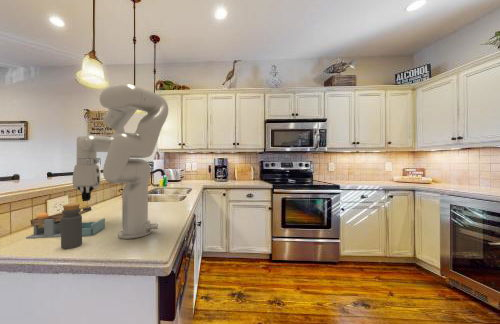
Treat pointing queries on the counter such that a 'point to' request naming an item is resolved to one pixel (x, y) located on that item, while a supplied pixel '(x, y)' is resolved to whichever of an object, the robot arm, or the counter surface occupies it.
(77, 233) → the bottle
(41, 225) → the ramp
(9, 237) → the counter surface
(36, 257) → the counter surface
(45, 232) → the stand
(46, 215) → the ball
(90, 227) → the tray
